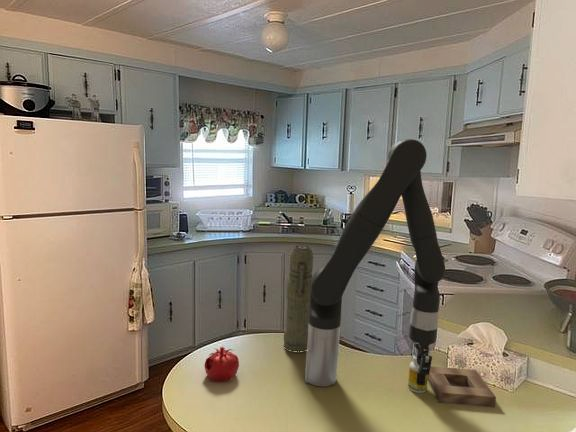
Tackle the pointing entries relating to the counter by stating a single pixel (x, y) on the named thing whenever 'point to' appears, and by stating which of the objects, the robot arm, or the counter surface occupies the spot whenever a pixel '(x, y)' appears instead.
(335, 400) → the counter surface
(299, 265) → the thermos
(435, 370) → the walnut holder
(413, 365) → the supplement bottle
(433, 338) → the robot arm
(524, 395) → the counter surface
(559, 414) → the counter surface
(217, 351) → the pomegranate
